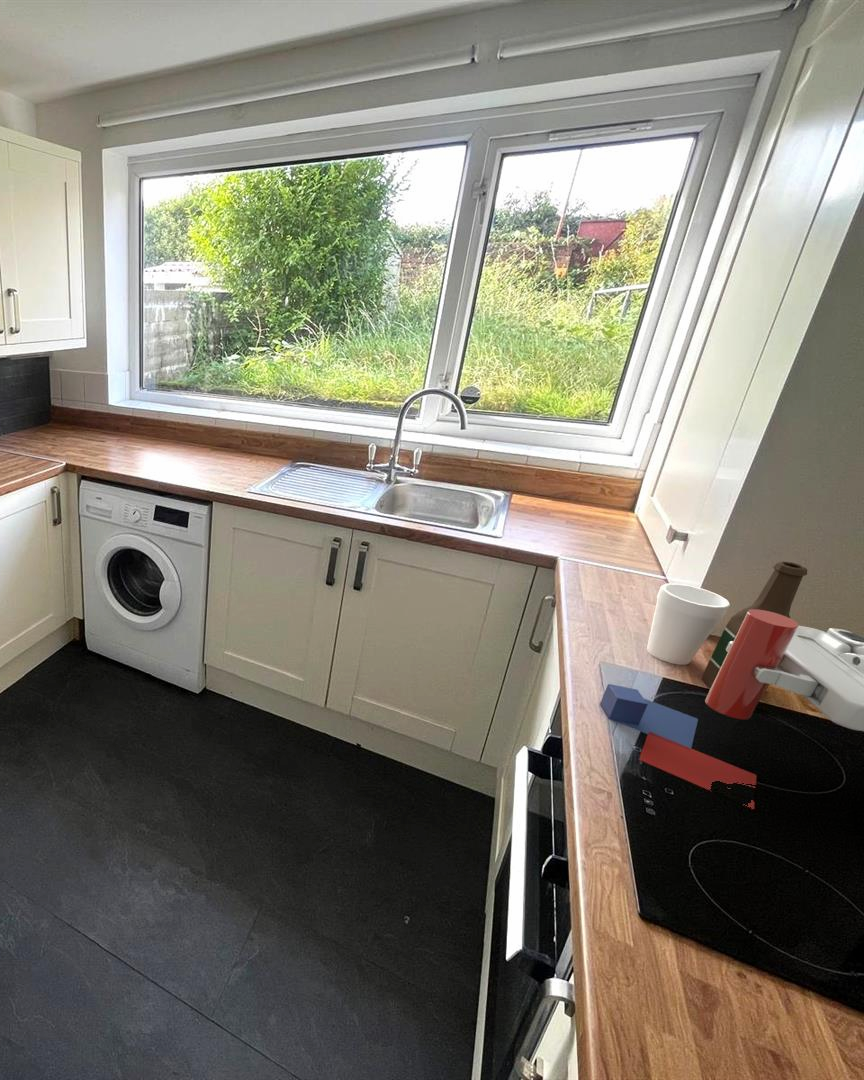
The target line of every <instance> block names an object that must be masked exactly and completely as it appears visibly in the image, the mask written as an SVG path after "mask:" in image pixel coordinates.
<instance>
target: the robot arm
mask: <svg viewBox="0 0 864 1080" xmlns="http://www.w3.org/2000/svg"><path fill="white" fill-rule="evenodd" d="M732 643H733V641H731V642H729V644H728V646H727V648H726V651H727V652H728V651H729V649H730V647H731V645H732ZM752 675H753V676H754V677H755V678H756V679H757V680H758V681H759V682H761V683H767V684H769V685H773V686H776V687H778V688H781V689H783V690H785V691H787V692H791V693H793V694H796V695H801V696H802V697H803V698H805V699H806V700H807V702H810V704H811V705H813V706H814V707H815V708H816V709H817V710H818V711H819V712H820V713H821V714H823V715H824V716H825V717H826V718H827V719H828V720H830V721H831V722H832V723H834V724H836V725H838V726H841V727H844V728H846V729H849V730H852V731H857V732H859V731H860V732H864V637H863V636H860V635H858V634H856V633H853V632H851V631H848V630H846V629H841V628H834V627H831V628H830V627H829V628H828V629H827V630H826V631H823V630H821V629H817V628H814V627H809V626H803V625H799V627H798V629H797V631H796V632H795V634H794V636H793V638H792V640H791V642H790V644H789V646H788V648H787V649H786V651H785V653H784V655H783V657H782V659H781V661H780V663H779V665H778V667H777V668H774V667H772V666H764V665H756V666H755V667H754V670H753V671H752Z"/></svg>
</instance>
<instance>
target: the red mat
mask: <svg viewBox="0 0 864 1080" xmlns="http://www.w3.org/2000/svg"><path fill="white" fill-rule="evenodd" d="M650 733H651V735H650ZM653 734H654V733H652V732H649V734H646V738H645V741H644V744H643V747H642V749H641V752H640V756H639V758H638V760H639V761H641V762H643V763H645V764H647V765H649V766H652V767H654V768H656V769H659V770H661V771H664V772H666V773H668V774H670V775H673V776H674V777H677V778H680V779H682V780H683V781H686V782H689V783H691V784H693V785H696V786H698V787H699V788H702V789H705V790H707V791H709V790H710V789H711V786H712V785H711V784H712V782H715V781H720V782H723V783H726V784H733V783H737V782H738V783H737V784H742V783H744V784H742V785H746V784H752V785H756V787H755V786H751V785H746V786H749V787H753V788H757V774H755V773H752V772H750V771H748V770H746V769H743V768H740V767H738V766H735V765H733V764H730V763H728V762H725V761H723V760H722V759H721V760H720V759H719V758H716V757H713V756H711V755H708V754H705V753H703V752H700V751H698V750H695V749H693V748H690V749H689V747H685V746H684V745H681V744H679V743H676V742H674V741H672V742H671V740H669V739H667V740H668V741H667V740H665V738H664V737H661V736H659V735H657V734H654V735H655V736H654V735H653ZM657 736H658V737H657ZM674 744H676V745H674ZM677 744H679V745H677ZM680 745H681V746H680ZM688 749H689V750H688ZM727 788H728V787H727ZM728 789H731V788H728ZM709 792H712V791H711V790H710V791H709ZM755 802H756V801H755ZM755 802H754V801H753V800H751V803H748V806H747V805H745V804H743V805H742V806H744V805H745V806H744V807H746V806H747V807H746V808H748V807H749V809H750V807H751V810H753V809H754V810H755Z"/></svg>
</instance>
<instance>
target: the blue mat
mask: <svg viewBox="0 0 864 1080" xmlns="http://www.w3.org/2000/svg"><path fill="white" fill-rule="evenodd" d="M644 699H645V701H646V702H647V704H648V705H647V707H646V710H645V712H644V714H643V716H642V719H641V721H640V723H639V725H637V724H632V723H627V722H623V721H618V720H613V719H610V720H612V721H614V722H617V723H619V724H621V725H624V726H626V727H628V728H631V729H634V730H636V731H637V732H638V731H639V732H641V733H643V734H645V735H648V734H649V732H652V733H654V734H657V735H659V736H661V737H664V738H665V740H667V739H669V740H671V742H672V741H674V742H676V743H679V744H681V745H684V746H685V747H689V749H690V748H691V749H693V748H692V747H693V744H694V739H695V735H696V731H697V726H698V723H699V718H697V717H695V716H691V715H689V714H686V713H684V712H682V711H679V710H676V709H673V708H670V707H668V706H665V705H664V704H663V705H662V704H660V703H658V702H655V701H652V700H649V699H647V698H644ZM654 734H653V735H654ZM650 735H651V733H650ZM654 736H655V735H654ZM657 737H658V736H657ZM667 741H668V740H667ZM679 744H677V745H679ZM674 745H676V744H674ZM681 745H680V746H681ZM689 749H688V750H689Z"/></svg>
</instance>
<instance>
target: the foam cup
mask: <svg viewBox="0 0 864 1080" xmlns="http://www.w3.org/2000/svg"><path fill="white" fill-rule="evenodd" d="M655 604H656V605H655V609H654V614H653V618H652V622H651V627H650V631H649V632H650V633H649V635H648V636H649V637H648V642H647V647H646V650H647V652H648V654H650V655H651V656H652V657H654V658H656V659H658V660H660V661H663V662H666V663H669V664H673V665H679V666H682V665H683V666H685V665H689V664H690V663H691V661H692V660H693V659H694V657H695V656H696V655H697V653H698V651H700V649H701V647H702V646H703V645H704V644H705V642H706V640H707V639H708V638H709V636H710V635H711V634H712V633H713V630H714V629H715V628H716V626H717V625H718V623H719V622H720V621H721V619H722V618H724V617H726V614H727V612H728V610H729V607H730V605H731V604H730V602H729V600H728V599H726V598H725V597H723V596H722V595H720V594H718V593H715V592H713V591H711V590H708V589H705V588H702V587H697V586H694V585H691V584H684V583H683V584H682V583H678V582H677V583H676V582H675V583H674V582H673V583H672V582H671V583H669V582H668V583H664V584H662V585H660V588H659V590H658V593H657V594H656V603H655Z"/></svg>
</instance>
